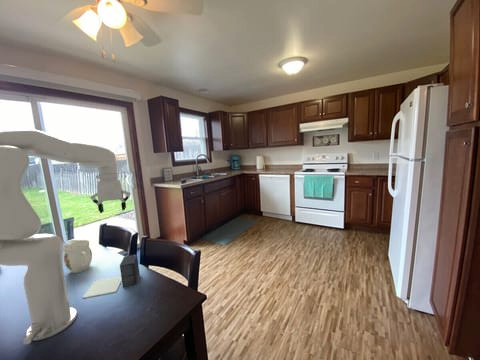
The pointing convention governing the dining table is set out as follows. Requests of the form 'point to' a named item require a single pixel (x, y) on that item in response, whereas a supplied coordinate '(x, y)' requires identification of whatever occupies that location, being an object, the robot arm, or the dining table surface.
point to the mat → (103, 286)
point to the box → (129, 271)
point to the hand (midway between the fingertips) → (112, 211)
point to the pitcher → (77, 255)
